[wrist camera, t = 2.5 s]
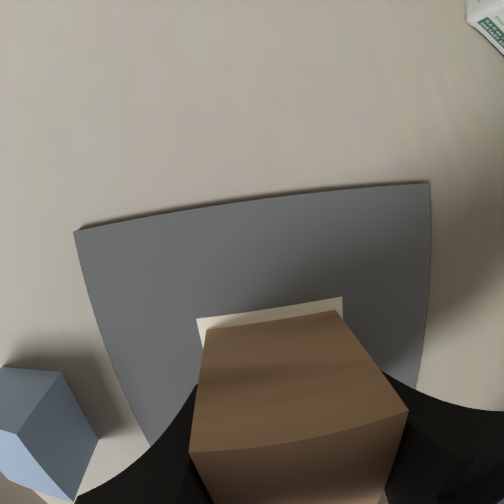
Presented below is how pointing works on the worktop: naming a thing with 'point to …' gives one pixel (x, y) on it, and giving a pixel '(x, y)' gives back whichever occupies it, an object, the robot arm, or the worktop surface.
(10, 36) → the worktop surface
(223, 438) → the walnut block
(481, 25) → the syrup box
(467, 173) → the worktop surface
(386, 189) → the letter mat
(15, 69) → the worktop surface
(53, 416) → the blue cube
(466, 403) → the worktop surface
